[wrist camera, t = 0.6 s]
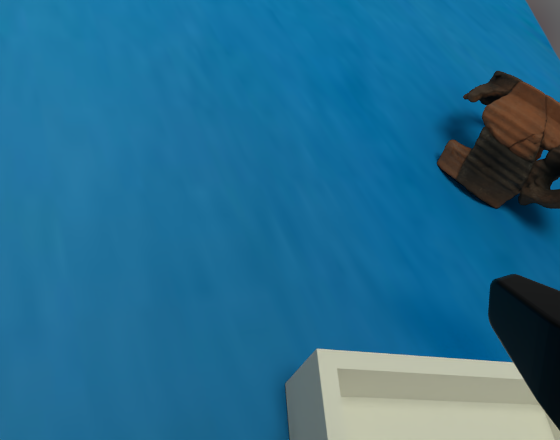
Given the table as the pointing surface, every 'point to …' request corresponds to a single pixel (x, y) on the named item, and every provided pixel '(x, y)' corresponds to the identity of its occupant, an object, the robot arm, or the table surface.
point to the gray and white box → (411, 399)
